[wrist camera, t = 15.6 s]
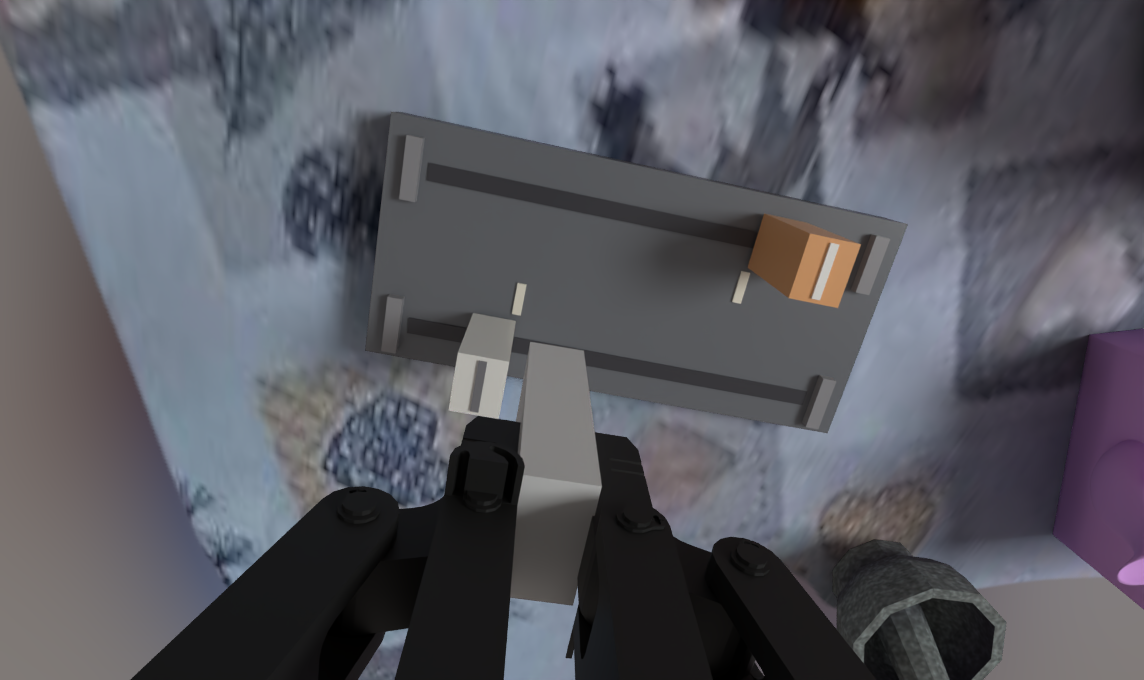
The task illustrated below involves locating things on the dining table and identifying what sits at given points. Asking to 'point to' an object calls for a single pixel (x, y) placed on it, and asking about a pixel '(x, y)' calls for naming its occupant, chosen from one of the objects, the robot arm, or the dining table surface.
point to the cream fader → (482, 366)
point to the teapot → (1108, 463)
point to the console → (612, 273)
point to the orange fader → (803, 260)
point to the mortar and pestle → (914, 616)
